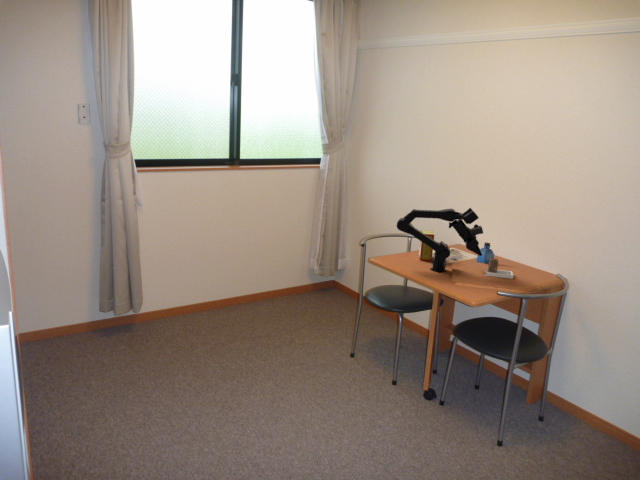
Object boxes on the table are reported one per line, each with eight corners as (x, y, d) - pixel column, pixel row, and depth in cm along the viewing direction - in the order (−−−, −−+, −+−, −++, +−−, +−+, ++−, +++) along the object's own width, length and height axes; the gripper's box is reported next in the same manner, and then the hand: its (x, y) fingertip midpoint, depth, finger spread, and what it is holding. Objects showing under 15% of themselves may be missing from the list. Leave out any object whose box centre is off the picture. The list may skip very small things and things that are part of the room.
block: (488, 274, 248) (490, 260, 246) (487, 272, 252) (489, 258, 250) (496, 275, 247) (498, 261, 245) (495, 273, 251) (497, 258, 249)
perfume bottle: (485, 261, 276) (488, 241, 273) (492, 264, 271) (495, 244, 268) (476, 262, 274) (479, 242, 271) (483, 265, 269) (486, 244, 266)
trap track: (485, 277, 247) (486, 272, 247) (485, 273, 254) (485, 268, 253) (512, 281, 244) (513, 275, 243) (511, 276, 251) (512, 271, 250)
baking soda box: (431, 261, 272) (434, 234, 268) (419, 260, 273) (422, 233, 269) (430, 256, 281) (432, 230, 277) (418, 255, 282) (421, 229, 278)
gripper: (477, 224, 237) (496, 248, 238) (473, 216, 255) (491, 239, 256) (458, 237, 241) (477, 261, 242) (456, 229, 259) (473, 251, 259)
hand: (480, 253), depth 250 cm, fingers open, 9 cm apart
